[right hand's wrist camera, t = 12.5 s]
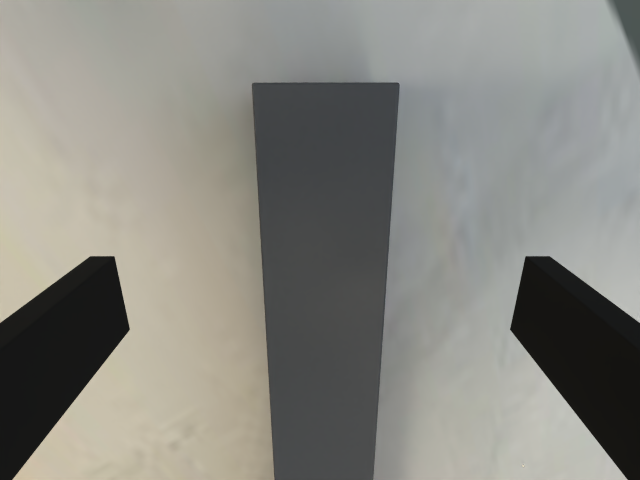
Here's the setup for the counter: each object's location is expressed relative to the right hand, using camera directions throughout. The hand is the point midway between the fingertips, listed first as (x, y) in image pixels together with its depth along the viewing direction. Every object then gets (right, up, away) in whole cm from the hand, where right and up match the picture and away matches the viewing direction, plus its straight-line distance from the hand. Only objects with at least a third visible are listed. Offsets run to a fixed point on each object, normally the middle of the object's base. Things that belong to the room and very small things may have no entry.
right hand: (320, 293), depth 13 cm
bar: (0, -21, +23) cm, 31 cm away
